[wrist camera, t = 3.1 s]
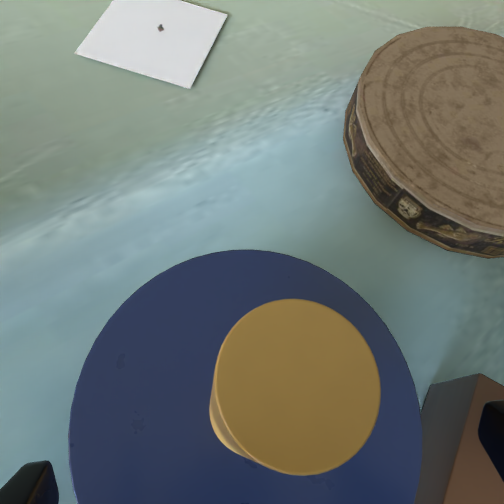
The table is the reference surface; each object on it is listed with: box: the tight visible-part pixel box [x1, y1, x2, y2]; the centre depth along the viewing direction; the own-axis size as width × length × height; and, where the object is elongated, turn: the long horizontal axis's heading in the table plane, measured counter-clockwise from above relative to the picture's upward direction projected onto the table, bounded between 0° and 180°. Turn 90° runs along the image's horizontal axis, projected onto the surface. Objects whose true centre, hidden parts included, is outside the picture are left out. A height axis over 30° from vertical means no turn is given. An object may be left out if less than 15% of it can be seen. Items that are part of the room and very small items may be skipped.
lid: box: [68, 250, 422, 504], centre depth 10 cm, size 11×11×8 cm
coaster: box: [74, 0, 227, 89], centre depth 28 cm, size 8×8×1 cm
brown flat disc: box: [343, 27, 504, 259], centre depth 25 cm, size 16×16×3 cm
